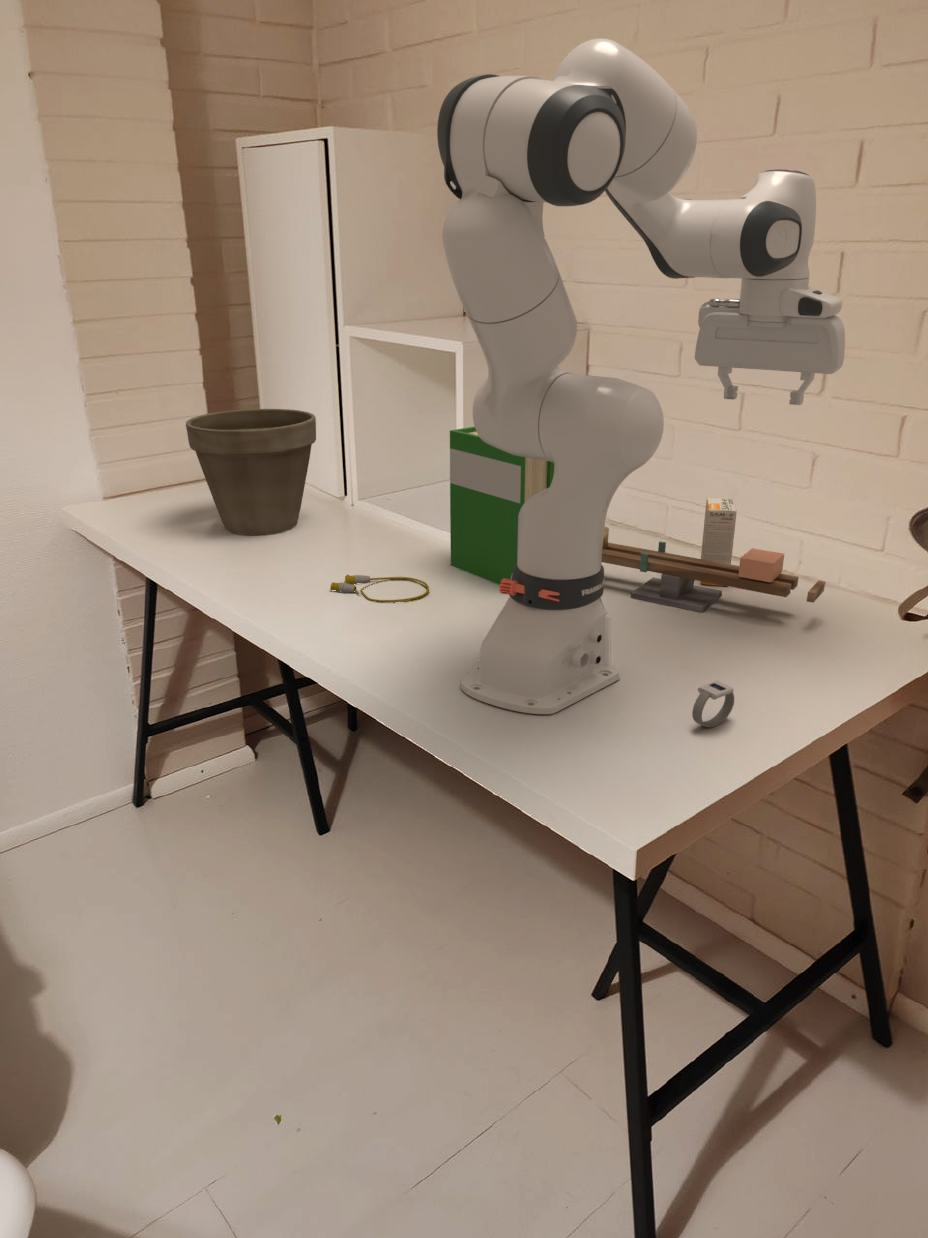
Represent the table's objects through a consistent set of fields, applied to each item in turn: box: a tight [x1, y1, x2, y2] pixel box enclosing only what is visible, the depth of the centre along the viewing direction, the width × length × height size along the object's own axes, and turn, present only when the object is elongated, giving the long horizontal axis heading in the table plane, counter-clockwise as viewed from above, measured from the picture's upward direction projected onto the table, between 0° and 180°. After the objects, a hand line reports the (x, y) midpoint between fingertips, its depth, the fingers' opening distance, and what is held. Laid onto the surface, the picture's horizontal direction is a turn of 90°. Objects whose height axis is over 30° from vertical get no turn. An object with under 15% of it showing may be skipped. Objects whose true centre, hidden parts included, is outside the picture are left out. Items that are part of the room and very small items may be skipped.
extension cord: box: [330, 574, 430, 604], centre depth 159 cm, size 12×16×2 cm
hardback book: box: [449, 426, 554, 586], centre depth 162 cm, size 18×7×24 cm, turn 40°
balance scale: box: [601, 526, 826, 613], centre depth 154 cm, size 9×44×9 cm, turn 57°
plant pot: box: [185, 408, 317, 536], centre depth 190 cm, size 25×25×22 cm
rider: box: [738, 547, 785, 582], centre depth 147 cm, size 6×5×5 cm
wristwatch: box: [691, 680, 735, 728], centre depth 115 cm, size 6×3×5 cm, turn 126°
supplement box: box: [700, 497, 738, 587], centre depth 162 cm, size 8×5×13 cm, turn 168°
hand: (762, 401), depth 138 cm, fingers open, 8 cm apart
